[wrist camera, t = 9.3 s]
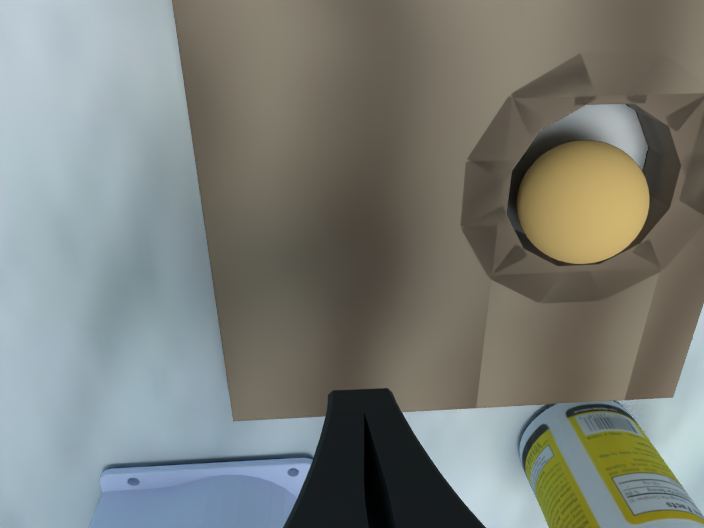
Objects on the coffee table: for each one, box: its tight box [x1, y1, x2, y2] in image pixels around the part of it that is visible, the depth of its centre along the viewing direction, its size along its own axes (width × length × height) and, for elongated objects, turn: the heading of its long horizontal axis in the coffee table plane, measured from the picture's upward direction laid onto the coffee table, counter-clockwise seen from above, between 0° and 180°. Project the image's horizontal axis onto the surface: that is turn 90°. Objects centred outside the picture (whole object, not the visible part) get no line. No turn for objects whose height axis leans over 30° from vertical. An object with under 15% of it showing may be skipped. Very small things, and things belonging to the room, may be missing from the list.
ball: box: [517, 140, 649, 264], centre depth 19 cm, size 4×4×4 cm
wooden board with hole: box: [172, 0, 704, 421], centre depth 19 cm, size 18×18×2 cm
